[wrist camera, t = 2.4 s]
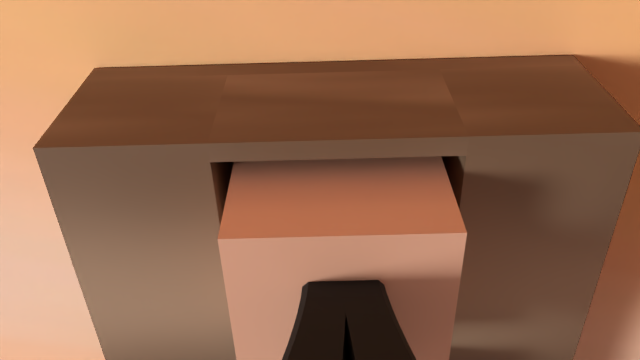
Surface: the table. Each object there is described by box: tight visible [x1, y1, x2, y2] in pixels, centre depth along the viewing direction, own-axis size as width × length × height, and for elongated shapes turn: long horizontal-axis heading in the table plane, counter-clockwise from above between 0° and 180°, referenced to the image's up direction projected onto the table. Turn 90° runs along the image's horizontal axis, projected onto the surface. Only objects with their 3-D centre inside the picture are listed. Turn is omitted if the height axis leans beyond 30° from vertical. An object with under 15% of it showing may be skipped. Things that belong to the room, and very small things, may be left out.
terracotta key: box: [218, 156, 467, 360], centre depth 12 cm, size 4×4×3 cm
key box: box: [33, 55, 640, 360], centre depth 16 cm, size 15×11×4 cm
